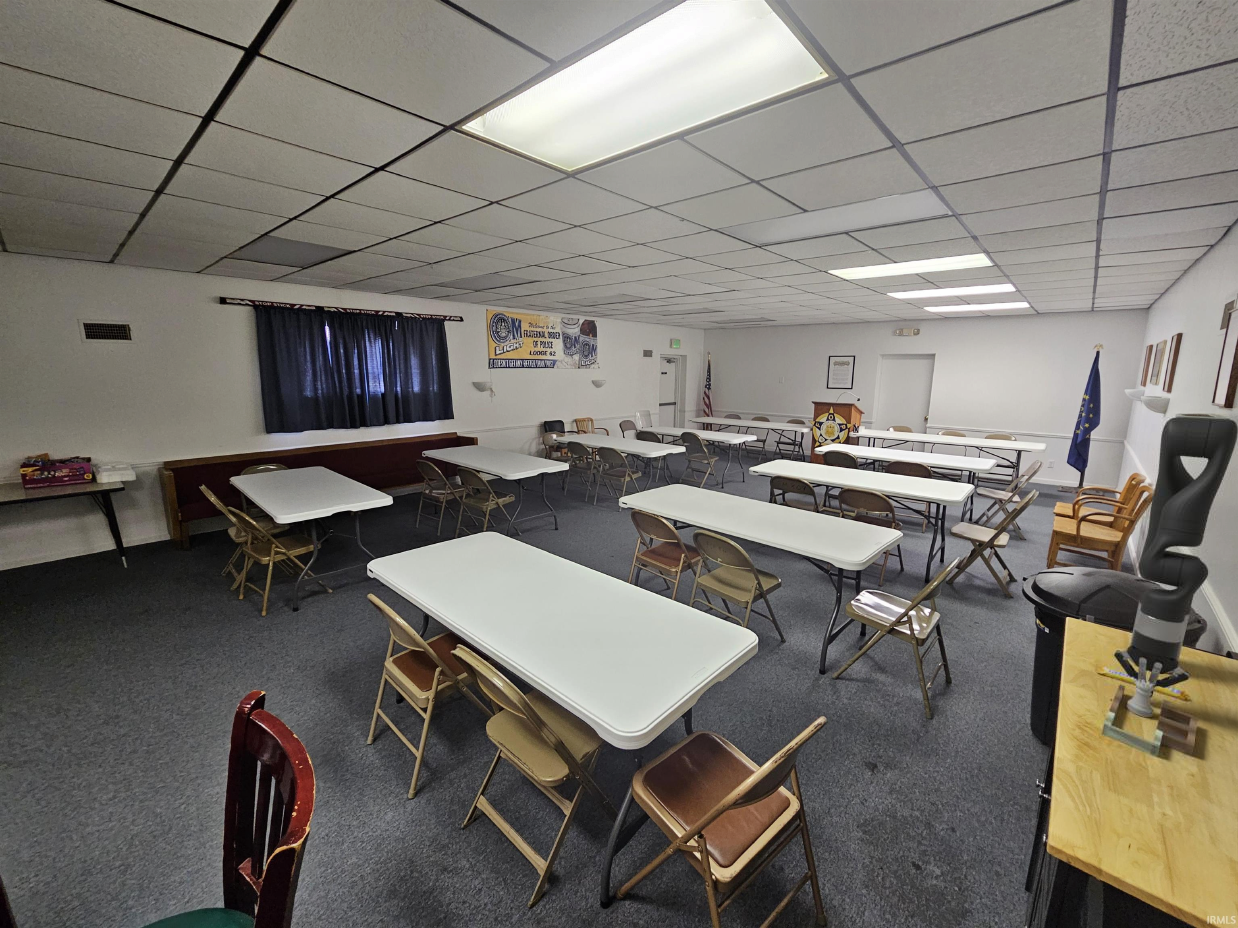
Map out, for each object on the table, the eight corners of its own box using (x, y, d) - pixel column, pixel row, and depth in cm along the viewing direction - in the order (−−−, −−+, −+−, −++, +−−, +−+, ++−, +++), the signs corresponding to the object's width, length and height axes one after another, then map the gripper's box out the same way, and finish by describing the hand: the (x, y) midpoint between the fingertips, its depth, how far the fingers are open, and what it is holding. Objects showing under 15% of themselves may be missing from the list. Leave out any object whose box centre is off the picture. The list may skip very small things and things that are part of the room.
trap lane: (1118, 692, 122) (1119, 684, 122) (1196, 720, 112) (1198, 711, 112) (1101, 733, 108) (1103, 724, 108) (1189, 770, 98) (1192, 760, 98)
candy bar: (1186, 696, 121) (1188, 689, 121) (1188, 704, 118) (1190, 697, 118) (1094, 668, 133) (1095, 662, 133) (1094, 674, 130) (1095, 668, 130)
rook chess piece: (1137, 704, 118) (1144, 676, 116) (1158, 717, 113) (1165, 688, 112) (1120, 705, 117) (1126, 676, 116) (1140, 718, 113) (1147, 688, 112)
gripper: (1201, 639, 112) (1185, 704, 115) (1121, 617, 123) (1108, 677, 126) (1199, 650, 108) (1182, 717, 111) (1116, 626, 118) (1103, 688, 121)
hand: (1143, 695), depth 118 cm, fingers closed
